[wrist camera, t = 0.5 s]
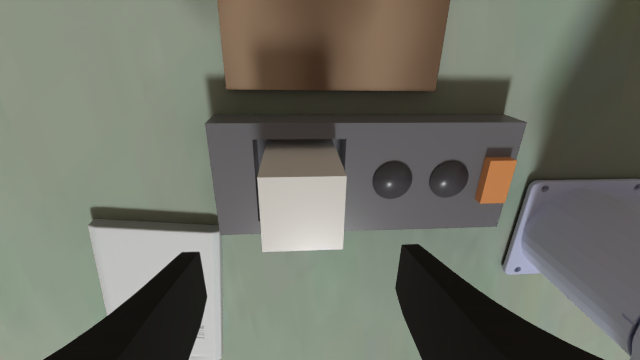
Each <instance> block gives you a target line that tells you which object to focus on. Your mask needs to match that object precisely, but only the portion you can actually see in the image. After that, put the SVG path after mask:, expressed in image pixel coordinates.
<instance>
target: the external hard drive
mask: <svg viewBox="0 0 640 360" xmlns="http://www.w3.org/2000/svg"><path fill="white" fill-rule="evenodd" d="M88 229H89V233H90V238H91V243H92V247H93V252H94V256H95V261H96V266H97V270H98V275H99V280H100V284H101V289H102V294H103V299H104V303H105V308H106V312H107V316H108V315H109V314H110V313H112V312H113V311H114V310H115V309H116V308H118V307H119V306H120V305H121V304H123V303H124V302H125V301H126V300H128V299H129V298H130V297H131V296H133V295H134V294H135V293H136V292H137V291H139V290H140V289H141V288H142V287H143V286H144V285H145V284H147V283H148V282H149V281H150V280H151V279H152V278H153V277H154V276H156V275H157V274H158V273H159V272H160V271H161V270H162V269H163V268H164V267H166V266H167V265H168V264H169V263H170V262H171V261H172V260H173V259H174V258H176V257H177V256H178V255H179V254H180V253H181V252H200V256H201V262H202V268H203V274H204V280H205V286H206V292H207V301H206V305H205V310H204V314H203V318H202V323H201V326H200V329H199V332H198V335H197V338H196V340H195V343H194V346H193V349H192V352H191V354H190V357H189V360H219V359H221V358H222V354H223V264H222V235H220V230H219V225H205V224H185V223H166V222H147V221H129V220H111V219H94V220H93V221H92V222H91V223H90V224H89V225H88Z"/></svg>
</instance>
